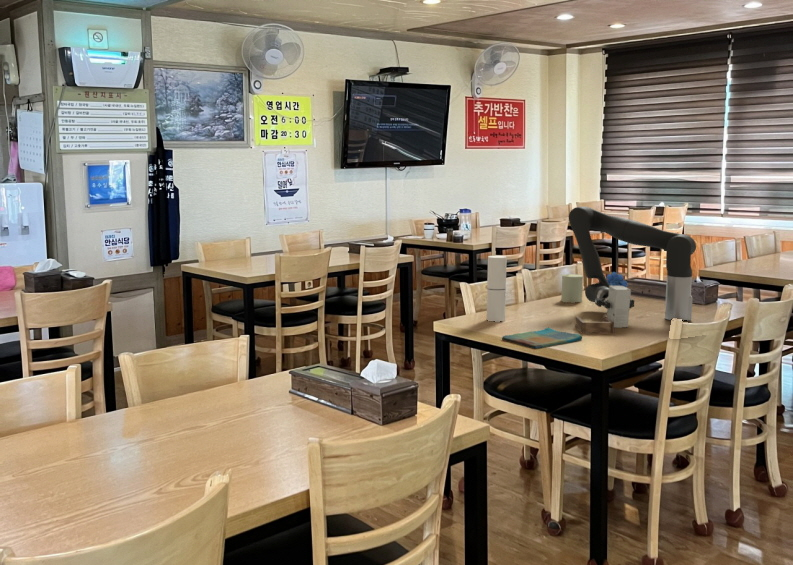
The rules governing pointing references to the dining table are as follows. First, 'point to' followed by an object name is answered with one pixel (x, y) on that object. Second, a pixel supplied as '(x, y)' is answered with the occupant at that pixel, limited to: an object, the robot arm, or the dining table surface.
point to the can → (572, 288)
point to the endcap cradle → (595, 326)
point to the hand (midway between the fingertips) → (619, 305)
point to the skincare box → (619, 305)
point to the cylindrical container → (496, 288)
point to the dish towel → (542, 338)
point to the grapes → (616, 280)
